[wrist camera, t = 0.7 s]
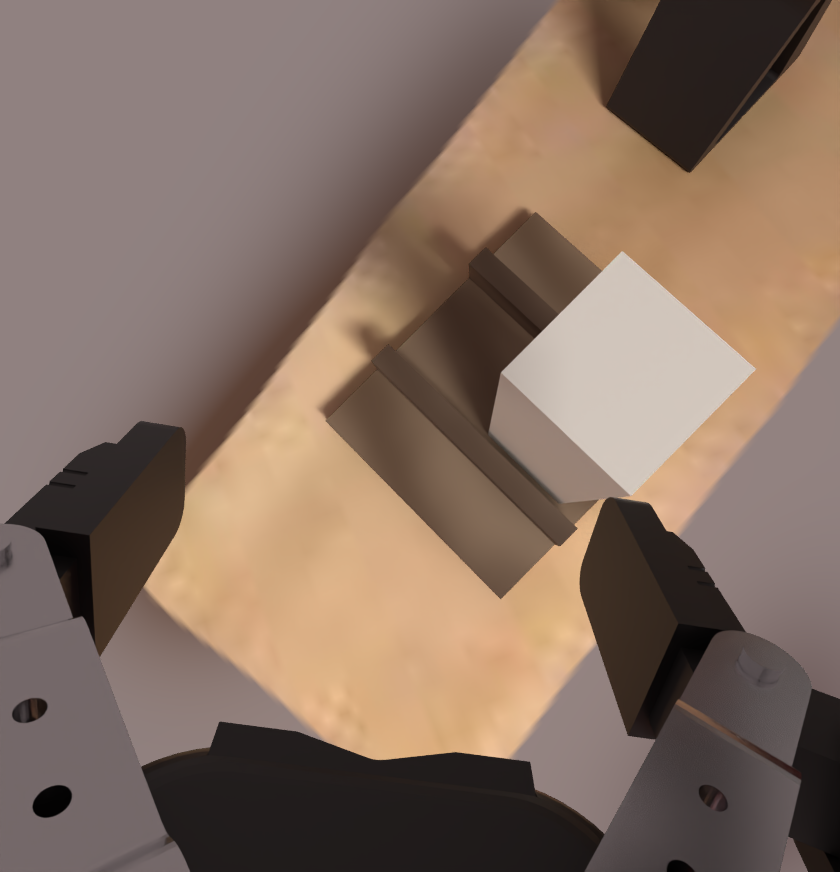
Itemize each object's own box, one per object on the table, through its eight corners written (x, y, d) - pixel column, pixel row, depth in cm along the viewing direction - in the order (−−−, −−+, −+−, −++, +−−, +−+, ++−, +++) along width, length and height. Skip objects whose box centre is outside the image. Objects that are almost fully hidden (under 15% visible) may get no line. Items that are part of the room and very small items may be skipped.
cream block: (555, 366, 34) (622, 251, 19) (627, 434, 33) (756, 368, 18) (488, 435, 33) (500, 372, 19) (558, 503, 33) (631, 495, 18)
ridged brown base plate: (533, 220, 36) (539, 193, 33) (712, 380, 34) (735, 367, 31) (329, 423, 36) (316, 415, 33) (499, 596, 34) (502, 604, 31)
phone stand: (687, 175, 36) (795, 6, 24) (604, 109, 36) (668, -86, 25) (797, 60, 36) (958, -164, 24) (712, -3, 37) (827, -250, 25)
